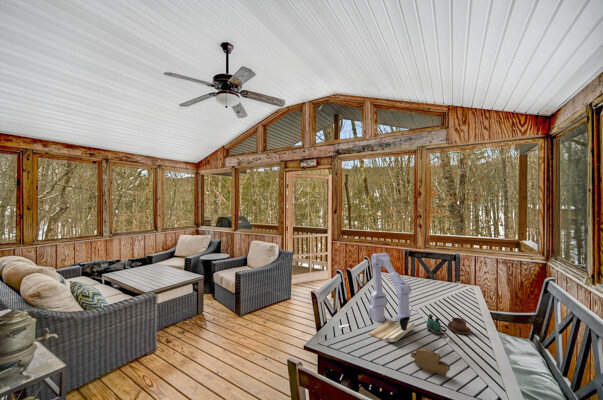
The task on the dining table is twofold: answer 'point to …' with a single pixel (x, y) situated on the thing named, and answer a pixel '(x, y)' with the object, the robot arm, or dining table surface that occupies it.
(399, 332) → the maple plank
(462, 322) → the brown cowboy hat
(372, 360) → the dining table surface
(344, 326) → the cell phone
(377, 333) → the board
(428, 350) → the wooden carving
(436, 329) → the binoculars
